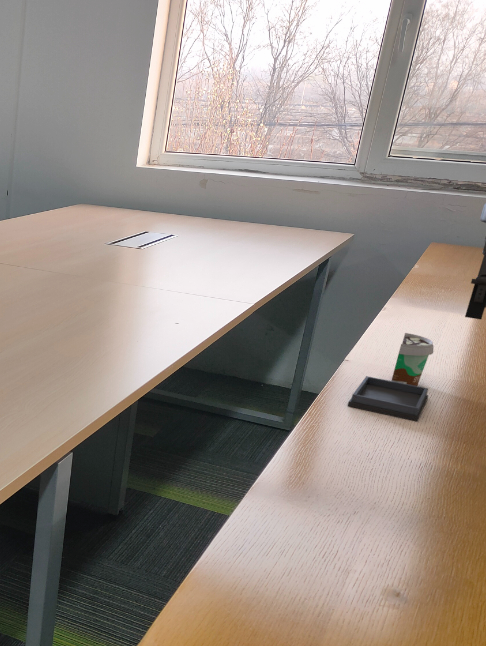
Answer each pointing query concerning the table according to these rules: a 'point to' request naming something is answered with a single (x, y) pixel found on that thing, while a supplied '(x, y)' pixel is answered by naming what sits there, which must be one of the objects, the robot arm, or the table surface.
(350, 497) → the table surface
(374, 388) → the pad
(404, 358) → the food container
